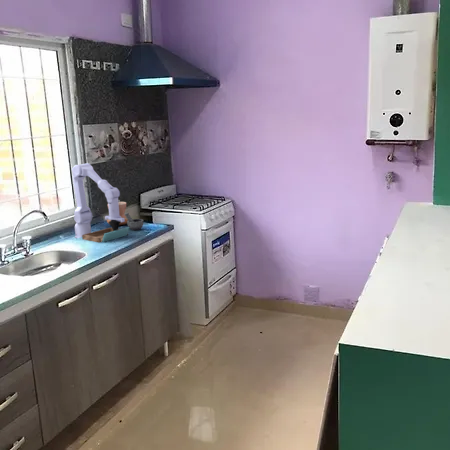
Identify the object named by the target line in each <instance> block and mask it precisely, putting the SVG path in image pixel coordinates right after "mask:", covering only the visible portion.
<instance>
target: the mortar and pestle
mask: <svg viewBox="0 0 450 450" xmlns="http://www.w3.org/2000/svg"><path fill="white" fill-rule="evenodd" d="M124 214H125V216H126V218H127V219H128V221H127V227H129V230H131V231H139V230H141V229H142V228H143V226H144V219H142V218H133V217H131V215H130V214H129V212H125V213H124Z"/></svg>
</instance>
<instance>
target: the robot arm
mask: <svg viewBox="0 0 450 450" xmlns="http://www.w3.org/2000/svg"><path fill="white" fill-rule="evenodd" d="M71 171H72V172H71V173H72V181H73V187H74V194H75V195H74V196H75V199H76V200H75V201H76V206H77V207H76V208H75V210H74V215H73V219H74V221H75V225H74V233H75V236H74V238H76V239H80V238H82V235H84V234H88V233H92V227H91V222H92V220H93V212H92V211H91V208H90V207H89V206H88V204H87V199H86V198H87V197H86V191H85V186H84V179H85V178H86V177H89V178H90V179H91V180H93V181H94V182H95V183H96V184H97V187H98V189H100V190H101V192H102V193H104V197H105V198H106V202H107V204H108V206H107V208H108V207H109V209H108V215H105V216H104V219H105V220H106V221H107V219H108V220H111V221H109V223H110V224H109V225H110V227H111V228H112V229H113V231H115V230H118V229H119V224H120V222H125V219H124V218H122V217H121V216H120V215H119V203H118V202H119V197H120V196H121V192H120V190H119V189H118V187H114V186H112V185H111V184H110V182H108V180H106V179H102V178H101V176H100V175H98V173H97V172H96V171H95V170H94V167H93V166H92V165H91V163H90V162H87V163H81V164H75V165H74V166H73V167H72V168H71Z"/></svg>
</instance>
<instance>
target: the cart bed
mask: <svg viewBox="0 0 450 450" xmlns="http://www.w3.org/2000/svg"><path fill="white" fill-rule="evenodd" d="M119 229H120V228H118V230H119ZM112 231H113V229H112V227H108V228H103V229H100V230H95V231H91V233H88V234H84V235H82V237H81V239H82V240H85V241H89V242H93V243H94V242H95V243H98V244H99V243H103V242H102V239H103V236H104V234H105V233H108V232H112ZM128 234H129V233H127V235H126V236H129V235H128Z"/></svg>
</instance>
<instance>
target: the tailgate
mask: <svg viewBox="0 0 450 450" xmlns="http://www.w3.org/2000/svg"><path fill="white" fill-rule="evenodd" d="M118 229H119V230H115V231H112V232H108V233H105V234H104V236H103V239H102V242H101V243H104V242H108V241H112V240H115V239H119V238H121V237H126V236H128V235H127V233H128V232H129V230H130V228H129V227H128V226H127V227H123V228H118ZM128 234H129V233H128Z"/></svg>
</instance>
